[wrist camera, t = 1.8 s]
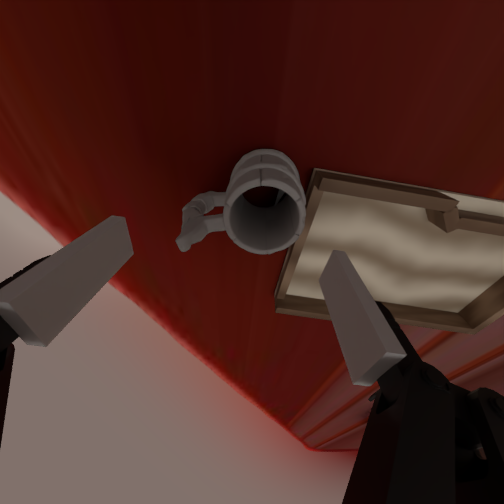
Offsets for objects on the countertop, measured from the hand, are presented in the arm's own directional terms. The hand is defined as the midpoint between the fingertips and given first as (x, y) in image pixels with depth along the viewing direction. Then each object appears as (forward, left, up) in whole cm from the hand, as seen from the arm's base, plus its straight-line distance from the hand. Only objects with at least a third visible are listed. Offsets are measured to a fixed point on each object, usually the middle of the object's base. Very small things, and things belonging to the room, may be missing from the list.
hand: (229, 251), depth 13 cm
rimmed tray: (+7, +23, -13) cm, 27 cm away
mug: (0, 0, -13) cm, 13 cm away
